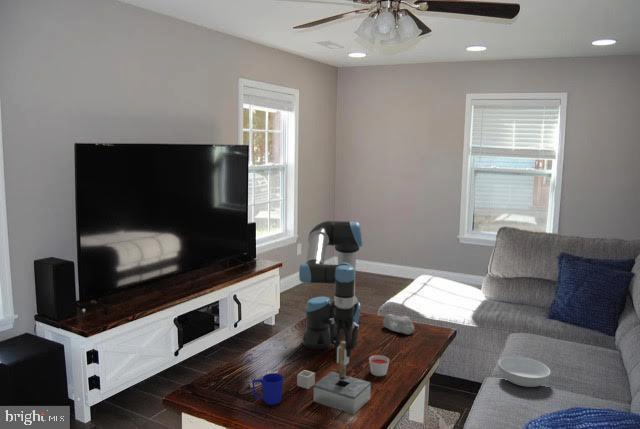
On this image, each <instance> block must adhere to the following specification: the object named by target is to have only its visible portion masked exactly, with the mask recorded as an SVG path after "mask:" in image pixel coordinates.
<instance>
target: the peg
mask: <svg viewBox="0 0 640 429" xmlns="http://www.w3.org/2000/svg"><path fill="white" fill-rule="evenodd" d="M345 348H346V341H345V340H341V342H340V360H339V363H338V364H339V368H338V369H339V370H338V373H339V377H340V379H341V380H344V379H345V377H346V376H347V375H346V373H347V365H344V349H345Z"/></svg>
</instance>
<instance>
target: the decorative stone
mask: <svg viewBox="0 0 640 429" xmlns="http://www.w3.org/2000/svg"><path fill="white" fill-rule="evenodd" d="M382 321H383V322H382V323H383V326H384V327H385V328H387V329H389V330H390V331H392V332H395V333H396V332H397V333H400V334H404V335H411V334H413V332H414V331H415V326H414V324H413V322H412V319H411V318H410V317H409V316H406V315H403V316H398V315H395V314H390V313H389V314H386V315H385V317H384V319H383V320H382Z"/></svg>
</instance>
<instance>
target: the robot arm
mask: <svg viewBox="0 0 640 429" xmlns="http://www.w3.org/2000/svg"><path fill="white" fill-rule="evenodd" d="M362 235H363V234H362V227H361V223H360V222H358V221H352V220H351V221H346V220H345V221H342V220H341V221H339V220H337V221H336V220H326V221H323V222H320V223H319V224H316V225H315V226H314V227H313V228H312V229H311V230H310V232H309V234H308V238H307V242H308V250H307V254H306V255H307V256H306V262H305V263H301V264H300V265H299V269H298V272H299V273H298V276H299V278H298V279H299V282H301V283H308V284H313V283H314V284H334V299H333V300H331V298H330V297H328V296H316V297H312V298H310V299H308V301H307V302H306V309H305V311H306V313H305V314H306V315H305V316H306V317H305V320H306V321H305V323H306V324H305V331H304V334H303V337H302V346H304V347H305V348H307V349H310V350H311V349H312V350H324V349H328V348H330V347H332V346H335V350H334V353H335V354H336V364H339V360H340V342H341V341H342V336H343V333H344V336H345V337H344V341H345V342H346V348H345V349H344V365H346V366H347V365H348V364H350V357H351V356H352V350H353V349H355V348H356V347H357V341H358V335H359V329H360V327H361V325H360V323H359V318H360V313H361V302H360V301H358V298H357V297H356V294H355V293H356V269H357V268H356V261H357V260H356V257H357V253H358V252H359V251H360V248H361V247H363V237H362ZM328 246H331V247H333V246H334V250H335V251H336V252H337V264H325V257H326V250H327V247H328ZM351 331H352V333H351Z"/></svg>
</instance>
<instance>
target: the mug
mask: <svg viewBox="0 0 640 429" xmlns="http://www.w3.org/2000/svg"><path fill="white" fill-rule="evenodd" d="M251 383H252V391H253V395H254V397H255V398H256V399H260V400H261V399H262V398H263V400H264V403H265V404H267V405H269V406H270V405H271V406H274V405H275V406H276V405H278V404H279V403H281V401H282V397H283V388H284V387H283V385H284V376H283V375H282V374H280V373H276V372H273V373H272V372H271V373H265V375H263V376H262V379H261V378H260V379H258V378H257V379H253V380H252V382H251ZM255 383H260V384H261V387H262V395H257V393H256V388H255Z"/></svg>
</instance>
